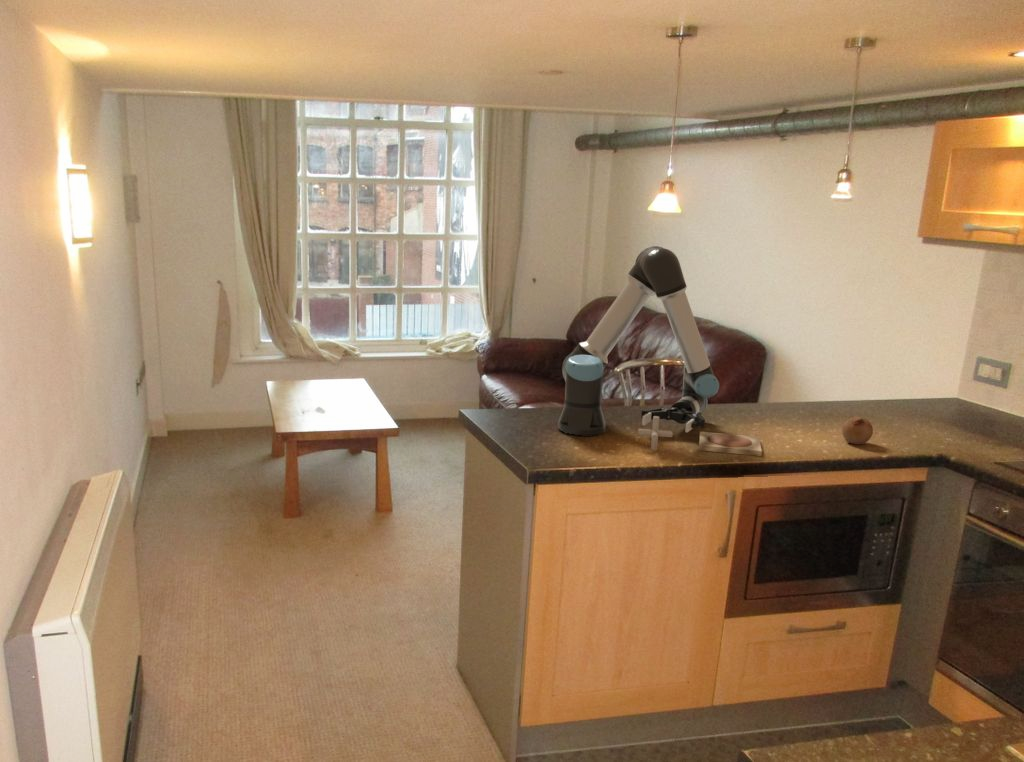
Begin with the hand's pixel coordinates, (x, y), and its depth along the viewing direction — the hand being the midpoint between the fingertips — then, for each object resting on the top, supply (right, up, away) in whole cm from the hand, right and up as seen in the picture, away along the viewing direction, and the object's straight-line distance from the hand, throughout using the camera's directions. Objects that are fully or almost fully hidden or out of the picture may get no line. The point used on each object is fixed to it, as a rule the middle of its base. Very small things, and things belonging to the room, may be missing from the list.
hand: (664, 424), depth 246 cm
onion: (+62, -7, +10) cm, 63 cm away
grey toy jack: (-4, -7, -4) cm, 9 cm away
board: (+20, -7, +3) cm, 21 cm away
